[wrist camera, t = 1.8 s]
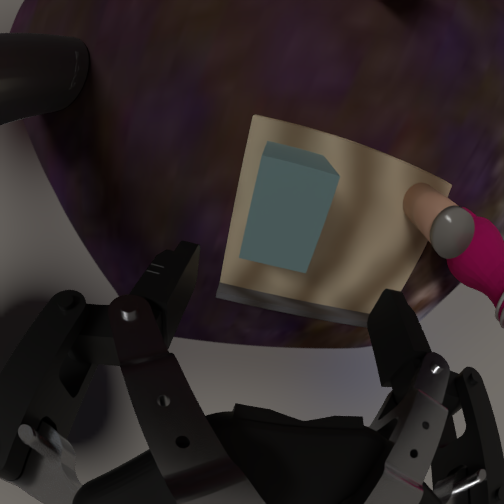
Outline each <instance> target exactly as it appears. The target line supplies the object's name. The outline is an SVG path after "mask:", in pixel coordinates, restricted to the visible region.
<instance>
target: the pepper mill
mask: <svg viewBox="0 0 504 504" xmlns="http://www.w3.org/2000/svg"><path fill="white" fill-rule="evenodd" d="M462 208H464V207H462ZM464 209H465V210H466V211H467V212H469V213H470V214H471V216H472V218H473V220H474V225H475V230H474V235H473V239H472V241H471V243H470V245H469V246H468V248H467V249H466V250H465V251H464V252H463V253H462V254H460V255H459V256H457V257H455V258H451V259H447V264H448V268H449V270H450V272H451V273H452V274H453V276H454V277H455V278H456V279H457V280H458V281H460V282H461V283H463V284H464V285H466V286H468V287H470V288H473V289H476V290H478V291H480V292H482V293H484V294H485V295H487V296H488V297H489V299H490V300H491V301H492V303H493V304H494V306H495V308H496V311H495V316H496V319H497V320H498V321H499V322H500V325H501V327H502V328H504V241H503V239H502V236H501V234H500V232H499V231H498V229H497V228H496V227H495V226H494V225H493V224H492V223H491V222H490V221H489V220H488V219H486V218H483V217H477V216H476V215H475V214H474V213H473V212H471V211H470V210H469V209H467V208H464Z"/></svg>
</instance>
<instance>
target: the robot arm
mask: <svg viewBox="0 0 504 504" xmlns="http://www.w3.org/2000/svg"><path fill="white" fill-rule="evenodd" d="M88 66H89V56H88V51H87V48H86V46H85V44H84V43H83V42H82V41H81V40H80V39H78V38H75V37H68V36H59V35H50V34H36V33H0V125H3V124H6V123H9V122H13V121H16V120H20V119H24V118H28V117H32V116H36V115H41V114H45V113H50V112H54V111H59V110H62V109H64V108H66V107H67V106H69V105H70V104H71V103H72V102H73V101H74V100H75V98H76V97H77V96H78V94H79V93H80V91H81V89H82V87H83V85H84V82H85V80H86V77H87V72H88ZM199 255H200V245H199V244H194V243H190V242H186V241H181V242H180V244H179V245H178V247H177V248H176V250H175V251H170V250H165V251H163V252H162V253H160V254H158V255H157V256H156V257H155V259H154V260H153V261H152V263H151V265H149V267H148V268H147V271H145V272H144V274H143V275H142V277H141V278H140V279H139V281H138V282H137V284H136V285H135V287H134V288H133V289H132V291H131V292H130V294H129V295H122V296H120V297H118V298H116V299H114V300H113V301H112V302H111V303H110V305H94V304H86V301H85V298H84V296H83V295H82V294H81V293H79V292H77V291H74V290H65V291H61V292H59V293H57V294H55V295H54V296H53V297H52V298H51V299H50V301H49V302H48V303H47V305H46V306H45V307H44V308H43V310H42V311H41V312H40V314H39V315H38V317H37V318H36V319H35V321H34V322H33V324H32V325H31V327H30V328H29V329H28V331H27V332H26V334H25V335H24V336H23V338H22V340H21V341H20V343H19V344H18V346H17V347H16V349H15V350H14V352H13V353H12V355H11V357H10V358H9V360H8V361H7V363H6V365H5V366H4V368H3V370H2V372H1V373H0V478H1V479H2V480H4V481H6V482H9V483H11V484H14V485H16V486H18V487H19V488H21V489H22V490H24V491H25V492H27V493H28V494H29V495H31V496H32V497H34V498H36V499H37V500H39V501H40V502H42V503H44V504H504V458H503V452H502V447H501V442H500V437H499V433H498V429H497V425H496V422H495V417H494V414H493V410H492V407H491V404H490V401H489V398H488V394H487V392H486V389H485V386H484V383H483V380H482V378H481V376H480V374H479V373H478V372H477V371H476V370H475V369H474V368H472V367H466V368H465V369H464V370H463V371H462V372H461V373H460V374H458V373H455V372H452V371H450V369H449V365H448V363H447V362H446V360H445V359H444V358H443V357H442V356H441V355H439V354H437V353H435V352H432V351H431V349H430V346H429V344H428V341H427V339H426V337H425V335H424V332H423V330H422V327H421V325H420V323H418V322H419V320H418V318H417V316H416V314H415V312H414V311H413V310H412V308H411V307H410V306H409V305H408V303H407V301H406V299H405V297H404V295H403V293H402V292H401V291H396V290H392V289H385V290H384V291H383V292H382V294H381V295H380V297H379V299H378V301H377V302H376V304H375V306H374V307H373V309H372V311H371V312H370V314H369V317H368V321H367V328H368V332H369V335H370V339H371V343H372V347H373V351H374V355H375V359H376V364H377V368H378V373H379V377H380V382H381V386H382V387H392V389H393V390H392V391H391V392H390V393H389V394H388V396H387V398H386V399H385V401H384V403H383V405H382V407H381V408H380V410H379V412H378V414H377V416H376V417H375V419H374V420H373V422H372V424H371V425H370V426H369V427H366V426H364V425H363V417H356V416H331V417H326V418H321V419H315V420H309V421H301V420H298V419H295V418H292V417H289V416H287V415H284V414H281V413H278V412H275V411H273V410H270V409H264V408H258V407H253V406H247V405H242V404H235V406H234V409H233V411H232V412H220V413H214V414H210V415H207V416H205V415H204V413H203V411H202V409H201V407H200V405H199V403H198V401H197V400H196V398H195V396H194V394H193V392H192V390H191V388H190V386H189V384H188V382H187V380H186V378H185V376H184V373H183V371H182V369H181V367H180V365H179V363H178V361H177V359H176V357H175V355H174V354H173V353H169V352H168V350H167V349H168V348H169V346H170V343H171V341H172V339H173V336H174V334H175V332H176V329H177V327H178V325H179V322H180V320H181V318H182V315H183V313H184V311H185V309H186V306H187V304H188V302H189V299H190V297H191V295H192V293H193V290H194V288H195V284H196V280H197V273H198V263H199ZM98 364H104V365H116V366H120V367H121V371H122V374H123V378H124V381H125V384H126V387H127V390H128V394H129V396H130V400H131V402H132V405H133V408H134V411H135V414H136V416H137V419H138V422H139V424H140V427H141V429H142V432H143V434H144V437H145V439H146V442H147V444H148V446H149V450H147V451H145V452H144V453H142V454H140V455H138V456H137V457H135V458H133V459H132V460H130V461H128V462H126V463H124V464H122V465H120V466H119V467H117V468H115V469H113V470H111V471H109V472H107V473H105V474H103V475H101V476H99V477H97V478H95V479H93V480H91V481H89V482H87V483H86V484H84V485H81V483H80V482H79V480H78V478H77V476H76V472H75V463H76V455H75V452H74V449H73V447H72V445H71V444H70V443H69V442H68V441H67V437H68V435H69V432H70V429H71V427H72V424H73V422H74V419H75V417H76V414H77V411H78V409H79V407H80V405H81V402H82V400H83V397H84V395H85V393H86V391H87V388H88V386H89V384H90V381H91V379H92V377H93V375H94V373H95V371H96V368H97V366H98ZM461 408H462V410H463V414H464V418H465V422H466V430H465V432H464V434H463V435H462V436H461V437H459V438H458V439H457V436H456V431H455V426H454V422H453V417H452V415H454V414H455V413H456V412H457V411H459V410H460V409H461ZM430 465H431V469H432V482H433V491H432V490H431V489H430V488H429V487H428V486H427V485H426V483H425V482H424V479H425V476H426V474H427V472H428V469H429V467H430Z"/></svg>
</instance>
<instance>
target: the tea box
mask: <svg viewBox="0 0 504 504" xmlns="http://www.w3.org/2000/svg"><path fill="white" fill-rule="evenodd" d="M339 179H340V175H339V174H338V173H337V172H336V170H335V169H334V168H333V167H332V165H331V164H330V163H329V162H328V160H327V159H326V158H325V157H324V156H323V155H320V154H317V153H313V152H310V151H306V150H303V149H299V148H295V147H291V146H287V145H283V144H279V143H275V142H271V141H267V143H266V146H265V148H264V151H263V153H262V157H261V161H260V165H259V170H258V174H257V178H256V183H255V187H254V192H253V196H252V200H251V205H250V209H249V214H248V218H247V223H246V227H245V232H244V236H243V241H242V245H241V250H240V255H239V258H241V259H246V260H250V261H254V262H259V263H263V264H267V265H272V266H276V267H280V268H285V269H289V270H293V271H298V272H302V273H306V271H307V269H308V266H309V264H310V261H311V258H312V256H313V253H314V250H315V248H316V245H317V242H318V240H319V237H320V234H321V231H322V229H323V226H324V223H325V220H326V217H327V214H328V212H329V209H330V206H331V203H332V200H333V197H334V194H335V191H336V188H337V185H338V182H339Z"/></svg>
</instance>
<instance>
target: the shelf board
mask: <svg viewBox="0 0 504 504" xmlns="http://www.w3.org/2000/svg"><path fill="white" fill-rule="evenodd" d="M267 141H271V142H275V143H279V144H283V145H287V146H291V147H295V148H299V149H303V150H306V151H310V152H313V153H317V154H320V155H323V156H324V157H325V158H326V159H327V160H328V162H329V163H330V164H331V165H332V167H333V168H334V169H335V170H336V172H337V173H338V174H339V175H340V179H339V182H338V185H337V188H336V191H335V194H334V197H333V200H332V203H331V206H330V209H329V212H328V214H327V217H326V220H325V223H324V226H323V229H322V231H321V234H320V237H319V240H318V242H317V245H316V248H315V250H314V253H313V256H312V258H311V261H310V264H309V266H308V269H307V271H306V273H302V272H298V271H293V270H289V269H285V268H280V267H276V266H272V265H267V264H263V263H259V262H254V261H250V260H246V259H241V258H239V255H240V250H241V245H242V241H243V236H244V232H245V227H246V223H247V218H248V214H249V209H250V205H251V200H252V196H253V192H254V187H255V183H256V178H257V174H258V170H259V165H260V161H261V157H262V153H263V151H264V148H265V146H266V143H267ZM417 183H427V184H429V185H430V186H432V187H433V188H435V189H436V190H437V191H439V192H440V193H442V194H443V195H444V196H446V197H448V195H449V192H450V189H451V187H452V185H451V184H449V183H448V182H446V181H445V180H443V179H441V178H439V177H437V176H435V175H433V174H431V173H429V172H427V171H424V170H422V169H420V168H418V167H416V166H414V165H411V164H409V163H407V162H405V161H402V160H400V159H398V158H395V157H393V156H390V155H388V154H385V153H383V152H380V151H378V150H375V149H373V148H370V147H367V146H365V145H362V144H359V143H356V142H353V141H350V140H347V139H344V138H341V137H338V136H335V135H332V134H329V133H326V132H322V131H319V130H316V129H312V128H309V127H305V126H301V125H298V124H294V123H290V122H286V121H282V120H278V119H273V118H269V117H264V116H260V115H253V118H252V123H251V127H250V132H249V136H248V141H247V146H246V150H245V155H244V160H243V165H242V169H241V174H240V179H239V184H238V189H237V194H236V199H235V204H234V209H233V214H232V219H231V224H230V230H229V235H228V240H227V246H226V251H225V257H224V262H223V268H222V273H221V279H220V283H219V287H218V290H217V294H216V297H217V298H221V299H225V300H229V301H233V302H238V303H242V304H247V305H251V306H255V307H260V308H265V309H269V310H274V311H279V312H284V313H289V314H294V315H299V316H304V317H309V318H314V319H320V320H325V321H331V322H337V323H342V324H348V325H354V326H360V327H367V321H368V317H369V314H370V312H371V311H372V309H373V307H374V306H375V304H376V302H377V301H378V299H379V297H380V295H381V294H382V292H383V291H384V290H385V289H392V290H396V291H401V290H402V288H403V287H404V285H405V283H406V282H407V280H408V278H409V276H410V274H411V273H412V271H413V269H414V267H415V265H416V263H417V262H418V260H419V258H420V256H421V254H422V252H423V250H424V248H425V246H426V244H427V242H428V240H427V238H426V237H425V236H424V235H423V234H422V233H421V232H420V230H419V229H418V228H417V227H416V226H415V225H414V224H413V223H412V222H411V220H410V219H409V218H408V217H407V216H406V215H405V213H404V210H403V199H404V196H405V193H406V192H407V190H408V189H409V188H410V187H411V186H413V185H414V184H417Z"/></svg>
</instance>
